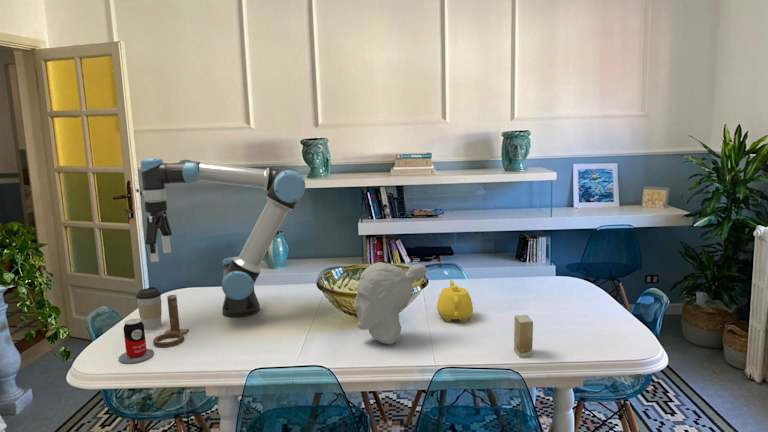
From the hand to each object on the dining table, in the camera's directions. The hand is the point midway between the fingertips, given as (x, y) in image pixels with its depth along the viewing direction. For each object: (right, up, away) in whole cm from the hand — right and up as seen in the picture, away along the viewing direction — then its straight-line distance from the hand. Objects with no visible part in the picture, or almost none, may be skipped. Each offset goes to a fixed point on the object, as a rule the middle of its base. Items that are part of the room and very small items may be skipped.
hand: (161, 257), depth 209 cm
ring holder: (+5, -30, -4) cm, 30 cm away
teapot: (+111, -24, +10) cm, 114 cm away
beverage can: (-1, -32, -19) cm, 37 cm away
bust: (+86, -29, -11) cm, 91 cm away
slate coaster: (-1, -32, -19) cm, 38 cm away
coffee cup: (-7, -28, +10) cm, 30 cm away
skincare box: (+129, -30, -25) cm, 134 cm away
